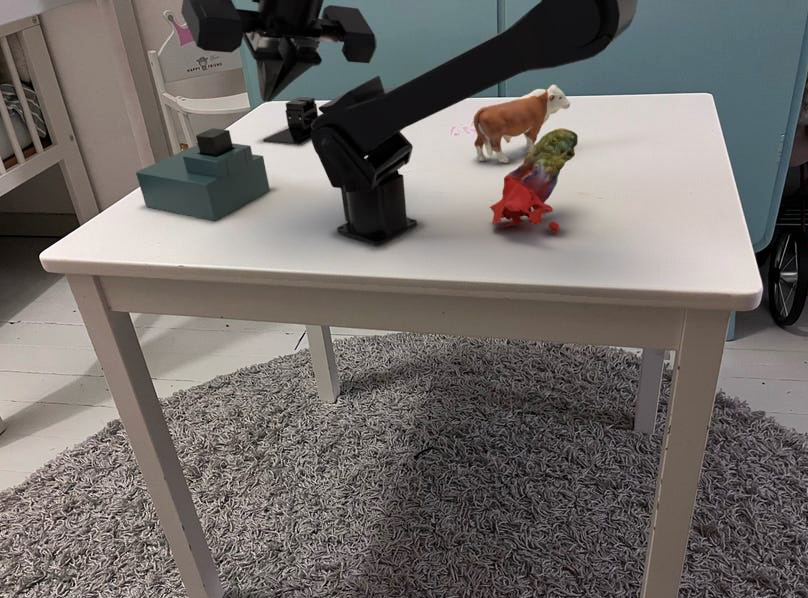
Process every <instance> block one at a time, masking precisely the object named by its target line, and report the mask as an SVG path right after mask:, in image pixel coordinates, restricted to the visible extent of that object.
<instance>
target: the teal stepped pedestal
mask: <svg viewBox="0 0 808 598" xmlns="http://www.w3.org/2000/svg"><path fill="white" fill-rule="evenodd" d="M232 145H233V150H231V151H229V152H227V153H225V154H223V155H221V156H219V157H213V156H206V155H201V154H200V150H199V146H198V145H197V146H196V145H193V146H191V147H189V148H186V149H184V150H182V151H180V152H177V153H175V154H173V155H171V156H169V157H166V158H164V159H162V160H160V161H157V162H155V163H153V164H151V165H149V166H147V167H144V168H142V169H139V170H138V171H135V174H136V177H137V181H138V184H139V187H140V190H141V195H142V198H143V201H144V204H145V207H146V208H152V209H156V210H161V211H164V212H165V211H166V212H171V213H175V214H180V215H185V216H188V217H189V216H190V217H195V218H199V219H204V220H210V221H215V222H216V221H218V220H220V219H222V218H223V217H225V216H226V215H229V214H230V213H232V212H234V211H236V210H238V209H240V208H241V207H243V206H244V205H246V204H249V203H250V202H251V201H253V200H255V199H257V198H259V197H261V196H262V195H264V194H266V193H267V192H269V191H270V190H271V188H270V184H269V179H268V173H267V169H266V164H265V163H266V162H265V159H264V155H261V154H260V155H259V154H253V152H252V146H251V145H248V144H241V143H233V142H232Z"/></svg>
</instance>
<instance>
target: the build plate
mask: <svg viewBox="0 0 808 598" xmlns="http://www.w3.org/2000/svg"><path fill="white" fill-rule="evenodd" d="M285 115H286V116H285V117H286V123H287V126H284V127H283V128H281V129H279V130H277V131H276V132H274V133H272V134H270V135H268V136H266V137H264V138H262V142H263V143H273V144H283V145H290V146H291V145H292V146H302V145H304V144H305V143H307V142H309V141H312V139H311V130H312V127H311V124H312V123H313V121H314V119H316V118H317V117H318V116H319V112H318V106H317V103H316V100H315V97H308V96H307V97H306V96H298V97H295V98H294V99H291V100H289V101H287V102H286V103H285Z"/></svg>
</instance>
